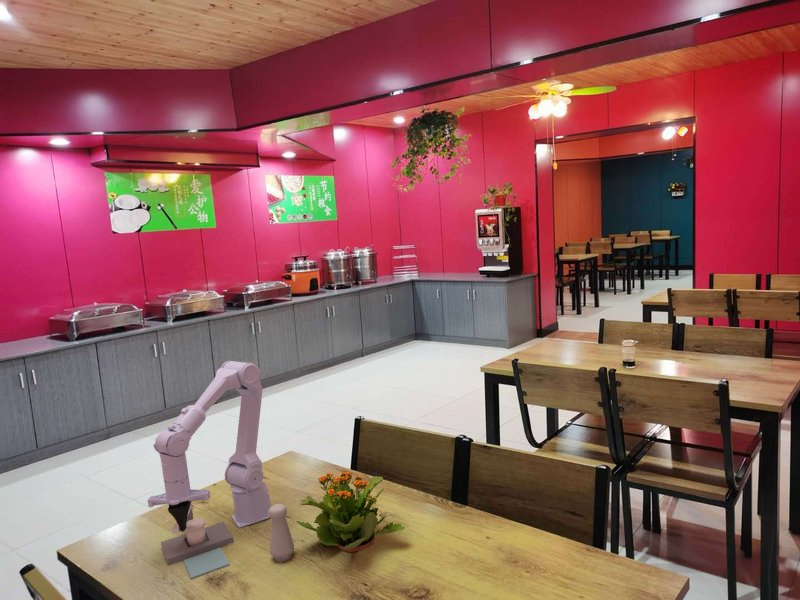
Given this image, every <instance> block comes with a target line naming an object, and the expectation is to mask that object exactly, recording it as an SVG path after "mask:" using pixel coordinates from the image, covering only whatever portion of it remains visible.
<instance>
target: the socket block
mask: <svg viewBox="0 0 800 600" xmlns="http://www.w3.org/2000/svg"><path fill="white" fill-rule="evenodd" d="M204 528H205V536H206V542H203V543H200V544H197V545H194V546H191V547H188V540H187V533H184V534H181V535H178V536H175V537H172V538H168V539H165V540H163V541H160V546H161V549H162V552H163V556H164V558H165V561H166V564H167V565H168V566H169V565H173V564H175V563H177V562H182V561H184V560H186V559H189V558H191V557H194V556H197V555H200V554H203V553H206V552H209V551H212V550H214V549H217V548H220V547H221V548H222V547H224V546H227V545H229V544H233V543H234V536H233V534H232V533H231V532H230V530H229V528H228V527H227V525H226V523H225V522H224V521H222V522H218V523H215V524H212V525H209V526H204Z"/></svg>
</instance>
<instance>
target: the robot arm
mask: <svg viewBox="0 0 800 600" xmlns="http://www.w3.org/2000/svg"><path fill="white" fill-rule="evenodd" d="M261 375H262V370H261V369H260V368H259V367H258V366H257V365H256V364H255V363H253V362H245V361H235V360H227V361H225V362H223V363H222V365H221V366H220V368H219V367H218V369H217V370H216V373H215V377H214V378H213V380H212V381H211V382H210V384H209V385H208V386H207V388H206V389H205V390H204V392H202V394H201V395H200V396H199V398H198V399H197V400H196V402H195V404H191V405H187V406H186V407H183V408H182V409H181V410H180V414H179V415H178V416H177V417H176V419H175V420H174V421H173V422H172V423H170V424H169V425H168V428H167V429H164V430H162V431H161V432H159V433H158V435H157V436H156V438H155V442H154V443H153V449H154V450H155V451H156V452H157V453H158V454H159V458H160V463H161V470H162V477H163V483H164V492H165V493H161V494H158V495H150V497H148V499H147V504H148V505H147V506H148V508H153V507H154V506H161V505H168V508H167V512H168V513H169V514H170V515H171V516H172V517H173V518H174V520H175V523H176V522H177V523H178V525H179V528H180V530H181V531H180V533H181V532H186V530H185V529H186V525H187V516H188V511H189V508H190V504H192V502H195V501H209V499H210V498H211V493H210V489H191V484H190V477H189V470H188V462H187V455H186V452H187V451H188V449H189V446H190V442H191V439H192V436H194V434H195V433H196V432H197V430H198V429H199V428H200V427H201V425H202V424H204V422H205V421H206V418H207V417H206V416H207V415H206V413H207V412H208V411H209V409H211V407H213V405H214V404H215V403H216V402H217V401H218V400H219V399H220V398H221V397H222V396H223V395H224V394H225V392H228V391H231V390H236V391H237V392H238V393H239V394H240V395H241V399H240V406H239V407H240V408H239V417H238V418H239V419H238V427H237V434H236V435H237V436H236V444H235V445H236V446H235V452H234V453H233V454H232V455H231V456H230V457H229V458H228V464H227V466H226V469H225V471H224V479H225V482H226V483H227V484H228V485H230V490H231V493H232V494H231V495H232V501H233V502H232V503H233V509H234V514H231V519H232V520H233V522H234V523H235V525H236V527H238V529H241V528H244V527H247V526H249V525H252V524H255V523H258V522H262V521H264V520H267V519H271V518H270V517H269V508H270V507H271V506H272V505H271V498H270V492H269V489H268V485H267V484H266V482H263V480H264V471H263V468H262V467H263V462H262V460H261V459H260V457H259V455H258V454H257V447H258V439H259V438H258V436H259V428H260V427H259V426H260V417H261V409H262V399H263V397H262V396H263V386H262V381H261V378H262V376H261Z"/></svg>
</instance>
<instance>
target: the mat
mask: <svg viewBox="0 0 800 600" xmlns="http://www.w3.org/2000/svg"><path fill="white" fill-rule="evenodd" d="M183 563H184V565H185V568H186V571H187V573H188V575H189V578H190V580H193V579H196V578H199V577H201V576H204V575H208V574H210V573H212V572H214V571H218V570H221V569H224V568H226V567H228V566H231V563H230V562H229V560H228V558H227V556H226V554H225V553H224V551H223V549H222V547H219V548H216V549H213V550H210V551H207V552H204V553H202V554H199V555H196V556H193V557H190V558H187V559H184V560H183Z"/></svg>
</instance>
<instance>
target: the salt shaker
mask: <svg viewBox="0 0 800 600" xmlns="http://www.w3.org/2000/svg"><path fill="white" fill-rule="evenodd" d="M287 511H288V509H287V506H286V505H285V504H284V503H274V504H273V505H271V507H270V508H269V517H270V518H269V519H270V521H271V524H270V539H269V553H270V555H271V556H272V558H274V560H275V562H276V561H277V563H279V562H281V563H283V562H285V561H286V562H287V561H289V560H291V557H292V554H293V552H294V549H295V545H294V544H295V543H294V541H293V537H292V534H291V531H290V528H289V524H288V521H287V518H286V515H287V514H288V513H287Z"/></svg>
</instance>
